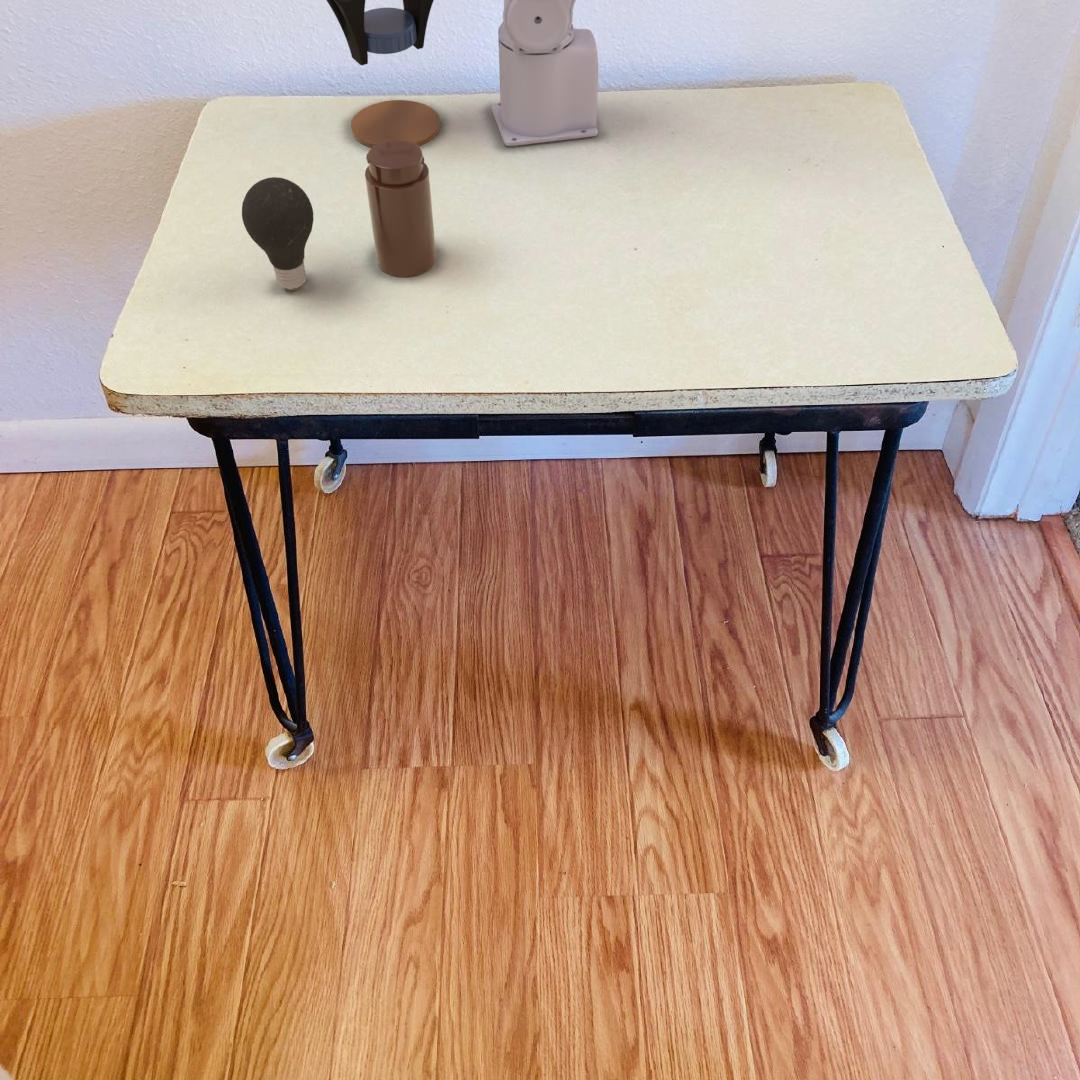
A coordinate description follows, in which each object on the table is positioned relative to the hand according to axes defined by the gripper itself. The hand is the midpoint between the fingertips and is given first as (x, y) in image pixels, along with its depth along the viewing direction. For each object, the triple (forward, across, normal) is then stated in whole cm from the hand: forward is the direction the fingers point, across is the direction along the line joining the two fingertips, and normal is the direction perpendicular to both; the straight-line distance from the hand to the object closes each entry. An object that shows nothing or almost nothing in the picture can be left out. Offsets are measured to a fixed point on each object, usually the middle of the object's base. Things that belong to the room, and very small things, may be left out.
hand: (387, 52), depth 104 cm
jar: (+8, -10, -20) cm, 24 cm away
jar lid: (-3, 0, 0) cm, 3 cm away
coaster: (+8, 0, 0) cm, 8 cm away
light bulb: (+8, -20, -19) cm, 28 cm away
